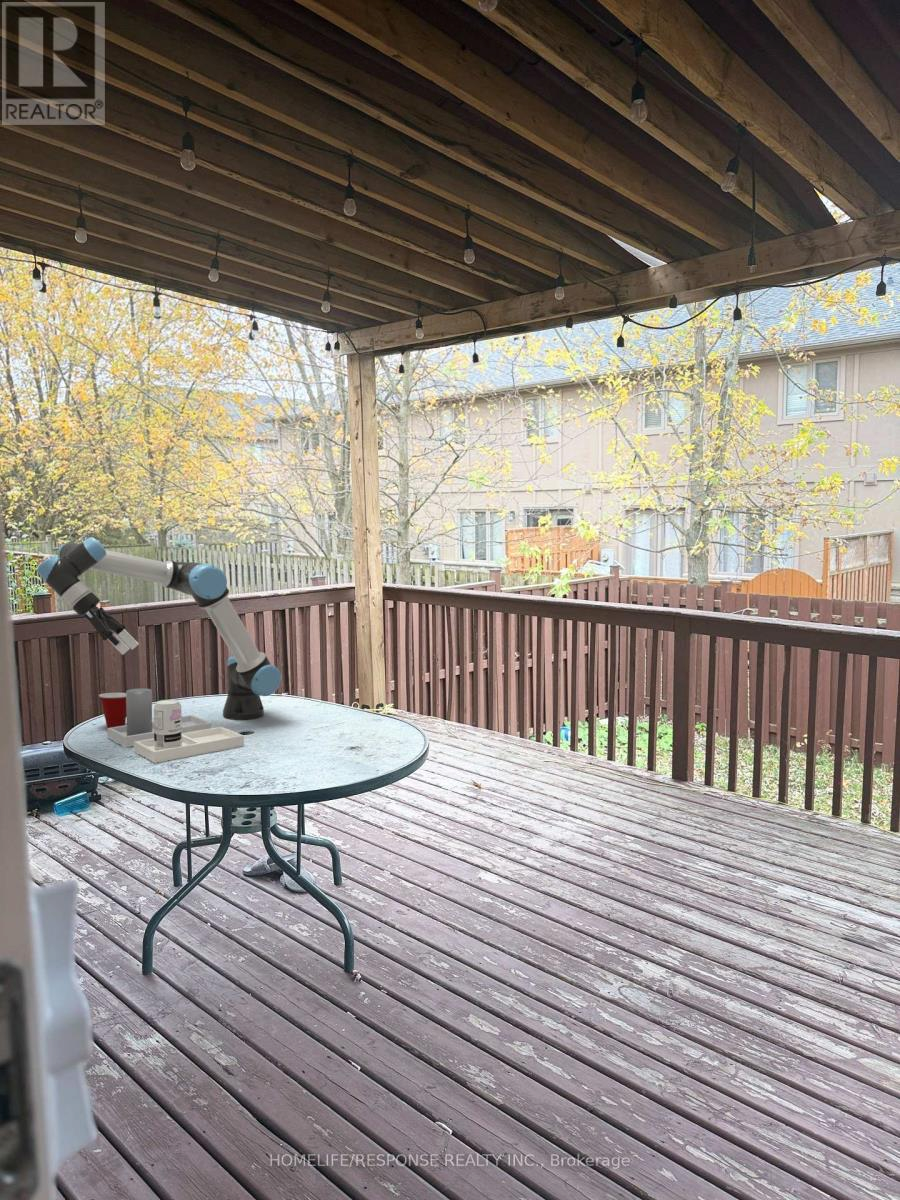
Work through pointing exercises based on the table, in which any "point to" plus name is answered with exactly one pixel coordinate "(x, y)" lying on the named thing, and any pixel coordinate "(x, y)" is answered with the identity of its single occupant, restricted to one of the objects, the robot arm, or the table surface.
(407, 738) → the table surface
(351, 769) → the table surface
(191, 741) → the tray
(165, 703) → the supplement can
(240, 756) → the table surface
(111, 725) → the plastic cup
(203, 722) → the tray
